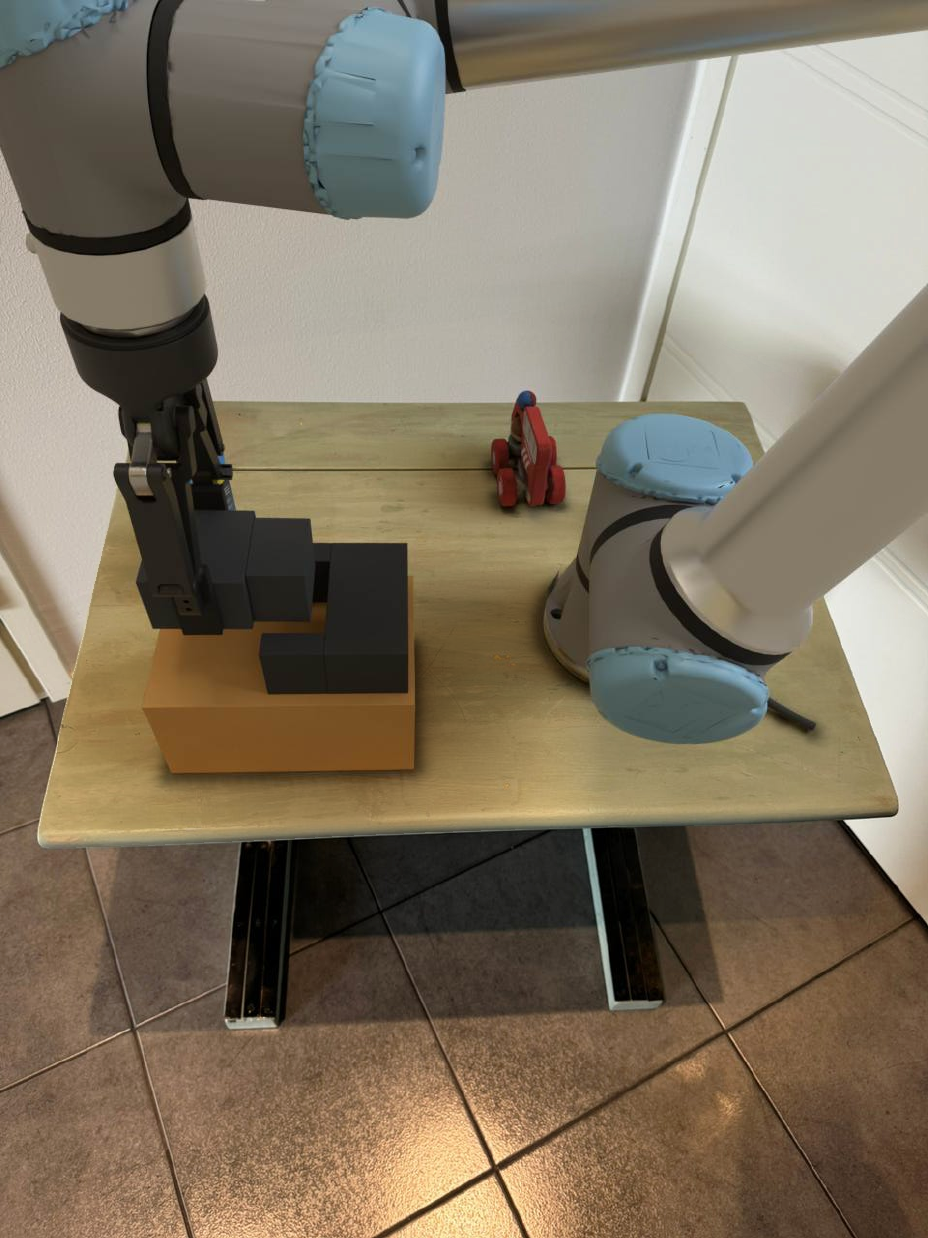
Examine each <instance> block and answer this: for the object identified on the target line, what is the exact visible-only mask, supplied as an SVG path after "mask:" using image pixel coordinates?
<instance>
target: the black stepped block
mask: <svg viewBox="0 0 928 1238" xmlns="http://www.w3.org/2000/svg"><path fill="white" fill-rule="evenodd" d="M194 513H195V520H196V528H197V535H198V542H199V549H200V557H201V564H207V565H208V569H209V572H210V576H211V580H212V584H213V588H214V592H215V595H216V599H217V603H218V607H219V610H220V614H221V618H222V622H223V625H224V629H253V626H254V621H255V622H310V621H311V610H312V599H313V588H314V577H315V556H314V547H313V543H314V540H313V539H314V538H313V529H312V520H311V518H308V517H307V518H306V517H257V514H256V511H255V510H242V509H241V510H237V509H236V510H194ZM139 565H140V566H139V569H138V572H137V575H136V579H135V585H136V587H137V590H138V594H139V595H140V596H139V597H140V598H141V601H142V604H143V606H144V609H145V612H146V615H147V617H148V620H149V623H150V626H151V629H152V630H160V629H181V627H180V624H179V621H178V618H177V615H176V612H175V609H174V606H173V603H172V600H171V597H154V596H153V595H152V593H151V590H150V586H149V582H148V580H147V575H146V572H145V568H144V565H143V561H142V560H141V561H140V564H139Z"/></svg>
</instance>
